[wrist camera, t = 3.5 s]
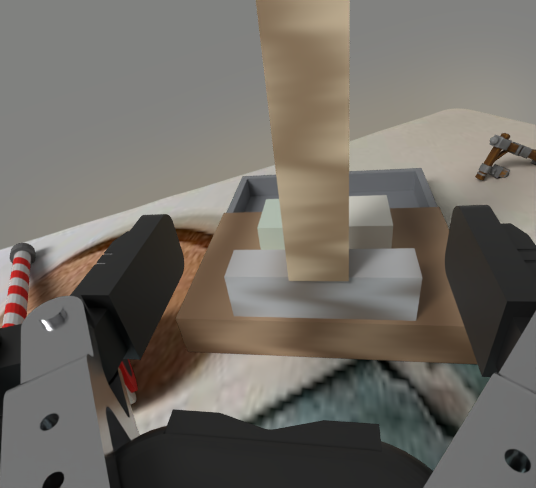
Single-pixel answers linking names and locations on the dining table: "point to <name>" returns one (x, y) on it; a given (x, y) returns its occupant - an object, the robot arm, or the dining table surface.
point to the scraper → (315, 183)
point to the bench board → (329, 330)
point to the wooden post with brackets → (496, 153)
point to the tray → (360, 184)
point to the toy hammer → (18, 302)
